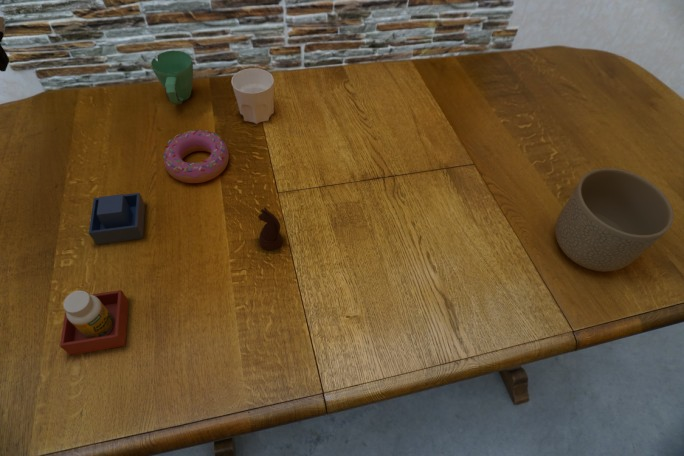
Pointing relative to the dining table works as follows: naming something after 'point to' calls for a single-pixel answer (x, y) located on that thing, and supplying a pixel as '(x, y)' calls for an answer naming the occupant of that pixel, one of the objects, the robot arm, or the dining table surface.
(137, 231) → the blue bin
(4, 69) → the robot arm
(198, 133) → the donut
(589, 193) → the planter
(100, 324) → the supplement bottle
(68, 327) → the red bin
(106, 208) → the blue block
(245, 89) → the cup
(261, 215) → the chess piece
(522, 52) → the dining table surface
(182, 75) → the mug
